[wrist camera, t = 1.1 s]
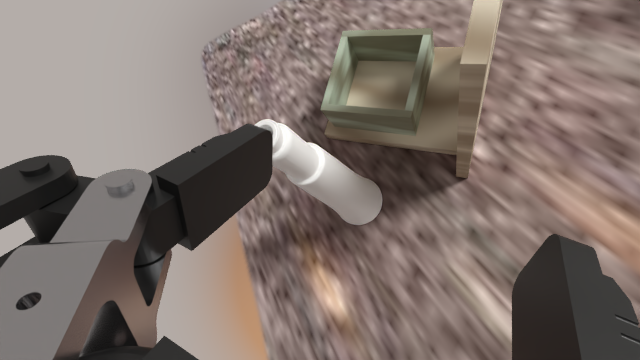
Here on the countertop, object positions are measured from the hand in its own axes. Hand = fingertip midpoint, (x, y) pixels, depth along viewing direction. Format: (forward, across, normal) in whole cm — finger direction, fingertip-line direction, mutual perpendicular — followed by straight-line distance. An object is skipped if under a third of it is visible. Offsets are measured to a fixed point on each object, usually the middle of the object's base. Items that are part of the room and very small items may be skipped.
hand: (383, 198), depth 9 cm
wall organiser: (+32, +5, +9) cm, 33 cm away
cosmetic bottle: (+22, +6, +19) cm, 30 cm away
